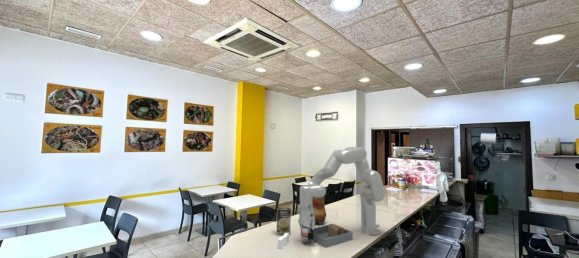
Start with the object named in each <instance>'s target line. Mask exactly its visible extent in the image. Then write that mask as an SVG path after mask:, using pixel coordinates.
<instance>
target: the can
mask: <svg viewBox="0 0 579 258" xmlns="http://www.w3.org/2000/svg"><path fill="white" fill-rule="evenodd" d="M310 227H311V226H310ZM310 230H311V228H310ZM308 233H309V231H308V228H307V227H305V226H302V227H301V229H300V236H301V241H303V242H312V239H311V240H309V239H308Z"/></svg>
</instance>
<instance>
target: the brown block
mask: <svg viewBox="0 0 579 258" xmlns="http://www.w3.org/2000/svg"><path fill="white" fill-rule="evenodd" d="M332 224H333V225H329V224H328V225H329V226H328V236H330V237H335V236H338V235H342V234H344V229H345V228H344V227H343V226H340V225H337V224H335V223H332Z"/></svg>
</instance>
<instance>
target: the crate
mask: <svg viewBox="0 0 579 258" xmlns="http://www.w3.org/2000/svg"><path fill="white" fill-rule="evenodd" d="M333 224H334V223H330V224H329V223H328V224H325V225H322V226H315V227H316V229H315V230H314V232H313V239H312V241H313V242H314V243H317V245H320V246H322V247H323V248H324V249H325V248H328V247H329V248H330V247H332V246H336V245H339V244H342V243H343V244H344V243H346V242H348V241H353V240H354V239H353V233H354V232H353V231H351V230H348V229H347V228H346V229H345V228H344V234H342V235H338V236H335V237H330V236H328V226H329V225H333ZM312 241H311V242H312Z"/></svg>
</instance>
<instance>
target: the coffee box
mask: <svg viewBox="0 0 579 258" xmlns="http://www.w3.org/2000/svg"><path fill="white" fill-rule="evenodd" d="M291 215H292V212H291V207H277V209H276V236H283V235H284V234H285V233H289V236H291V221H292V219H291Z"/></svg>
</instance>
